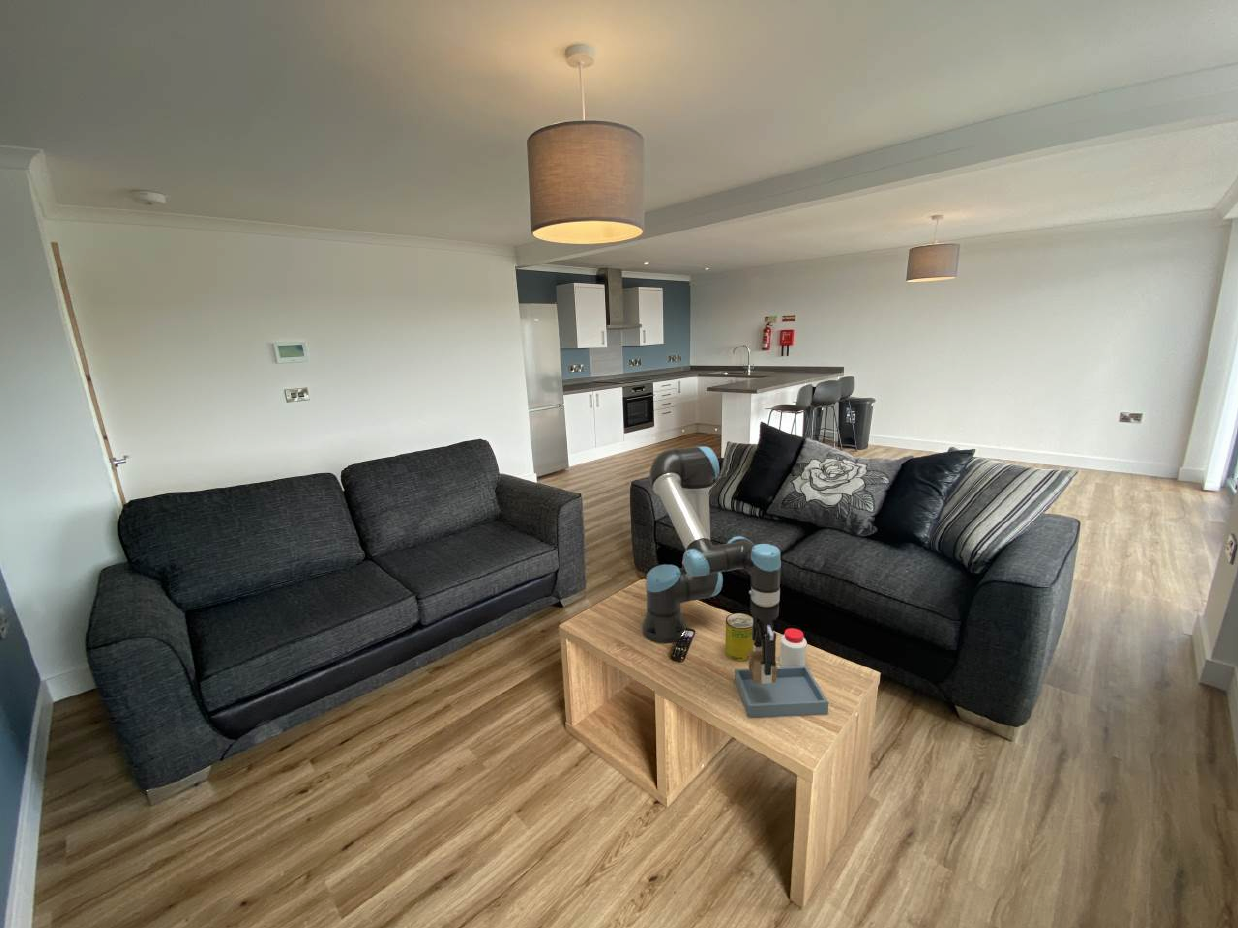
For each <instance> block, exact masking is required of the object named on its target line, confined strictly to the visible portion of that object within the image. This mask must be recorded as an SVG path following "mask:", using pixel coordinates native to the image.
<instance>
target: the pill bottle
mask: <svg viewBox="0 0 1238 928" xmlns="http://www.w3.org/2000/svg"><path fill="white" fill-rule="evenodd" d="M779 645H780V646H779V647H780V649H779V665H780V667H792V666H807V665H806V662H807V648H808V647H807V646H808V642H807V639H806V638H805V637H804V633H803V631H801V630H800V629H797V628H793V627H792V628H787V629H785V631H784V634H782V636H781V637H780V644H779Z"/></svg>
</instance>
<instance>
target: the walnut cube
mask: <svg viewBox="0 0 1238 928" xmlns="http://www.w3.org/2000/svg"><path fill="white" fill-rule="evenodd" d="M762 661H763V655H762V651H755V650H754V651H749V661H748V669H749V671H750V674H751V676H752V678H753V681H754V683H761V663H760V662H762ZM777 665H778V664H777V661H776V660H775V666H772V682H776V672H777V667H778V666H777Z"/></svg>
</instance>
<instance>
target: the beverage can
mask: <svg viewBox="0 0 1238 928" xmlns="http://www.w3.org/2000/svg"><path fill="white" fill-rule="evenodd" d="M752 632H753V616H750V615H749V614H745V613H740V612H736V613H735V612H734V613H730V614H728V615H727V616H726V617H725V641H724V643H725V651H724V653H725V656H726V657H728V659H730V660H732V661H734V662H740V663H743V662H749V651H755V646H754V641H753V640H752Z"/></svg>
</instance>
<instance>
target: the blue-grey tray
mask: <svg viewBox="0 0 1238 928" xmlns="http://www.w3.org/2000/svg"><path fill="white" fill-rule="evenodd" d="M734 683H735V685H736V688H737V691H738V693H739V696H740V698H741V701H742V703H743V707H744V709H745V711H746V714H747V717H748V719H754V718H755V719H756V718H773V717H792V716H812V715H813V716H815V715H828V714H829V701H828V698H827V697H826V696H825V694H824V692H823V690H822V689H821V687H820V686H819V684H818V683H817V681H816V679H815V678H814V676H813V674H812V673H811V671H810V670H809V668H808V666H807V665H806V666H792V667H782V666H779V667H778V666H777V672H776V682H772V683H769V684H762V683H754V681H753V678H752V676H751V674H750V671H749V668H739V669H737V668H736V669H734Z"/></svg>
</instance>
